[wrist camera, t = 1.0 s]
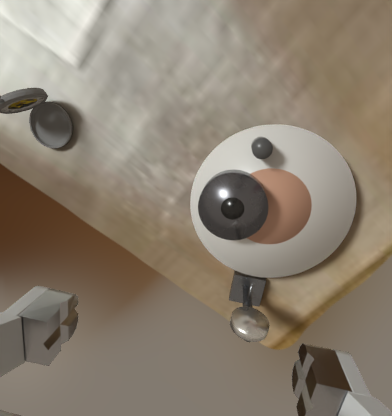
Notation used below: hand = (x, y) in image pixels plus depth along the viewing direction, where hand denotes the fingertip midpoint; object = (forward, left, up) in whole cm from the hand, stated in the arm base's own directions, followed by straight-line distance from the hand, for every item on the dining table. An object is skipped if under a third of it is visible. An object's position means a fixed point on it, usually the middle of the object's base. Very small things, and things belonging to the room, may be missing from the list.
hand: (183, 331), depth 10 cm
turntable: (+4, +7, -33) cm, 34 cm away
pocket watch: (-3, -27, -33) cm, 43 cm away
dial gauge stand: (+19, +7, -33) cm, 38 cm away
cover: (+4, +2, -30) cm, 30 cm away
